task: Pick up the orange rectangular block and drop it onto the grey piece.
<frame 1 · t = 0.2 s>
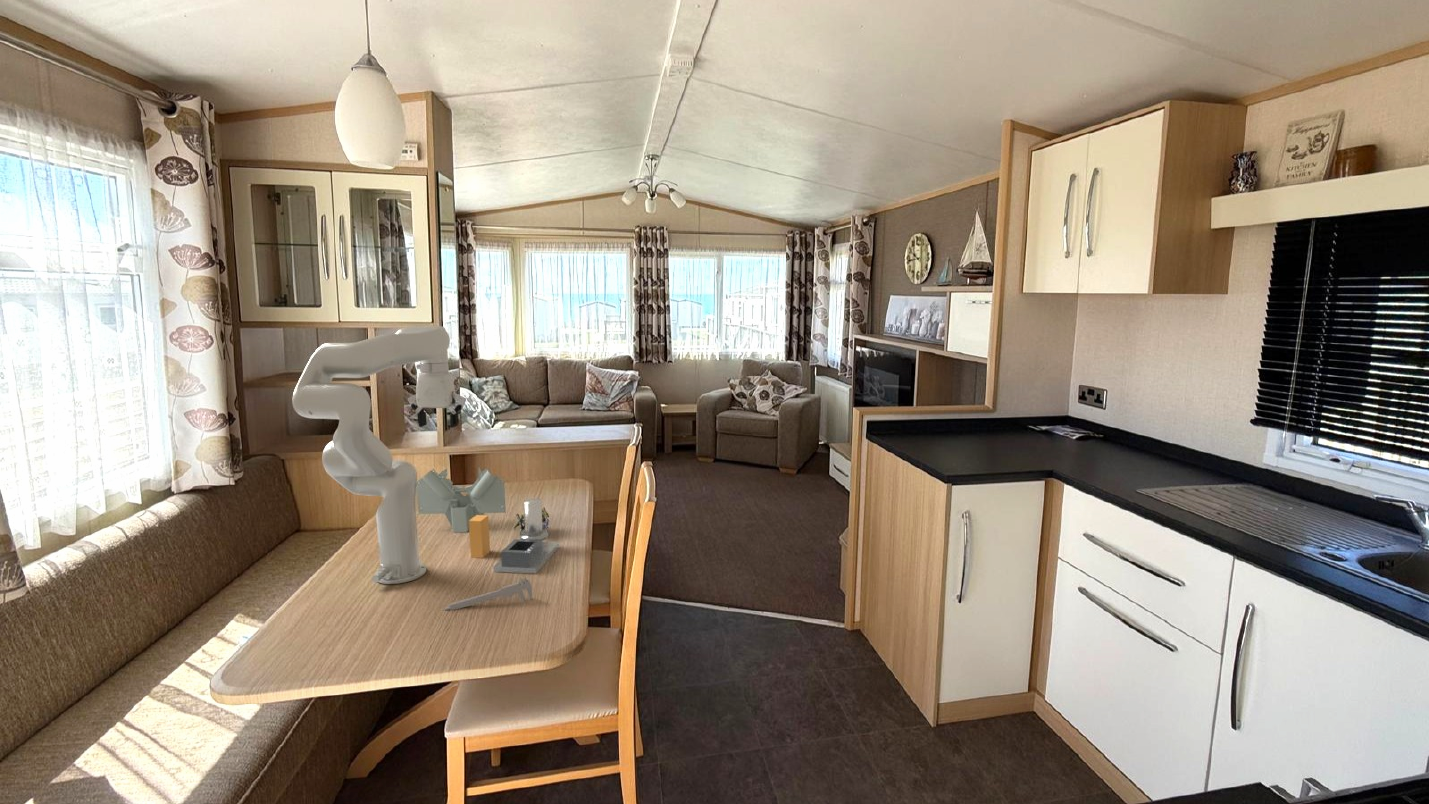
hand: (438, 426, 198), 36 cm above the table, tool pointing down, fingers open, 9 cm apart
passion flower: (532, 535, 211), on the table
bracket: (463, 529, 216), on the table
orange rectangular block: (480, 554, 195), on the table
grey piece: (528, 559, 191), on the table
caliper: (489, 606, 164), on the table
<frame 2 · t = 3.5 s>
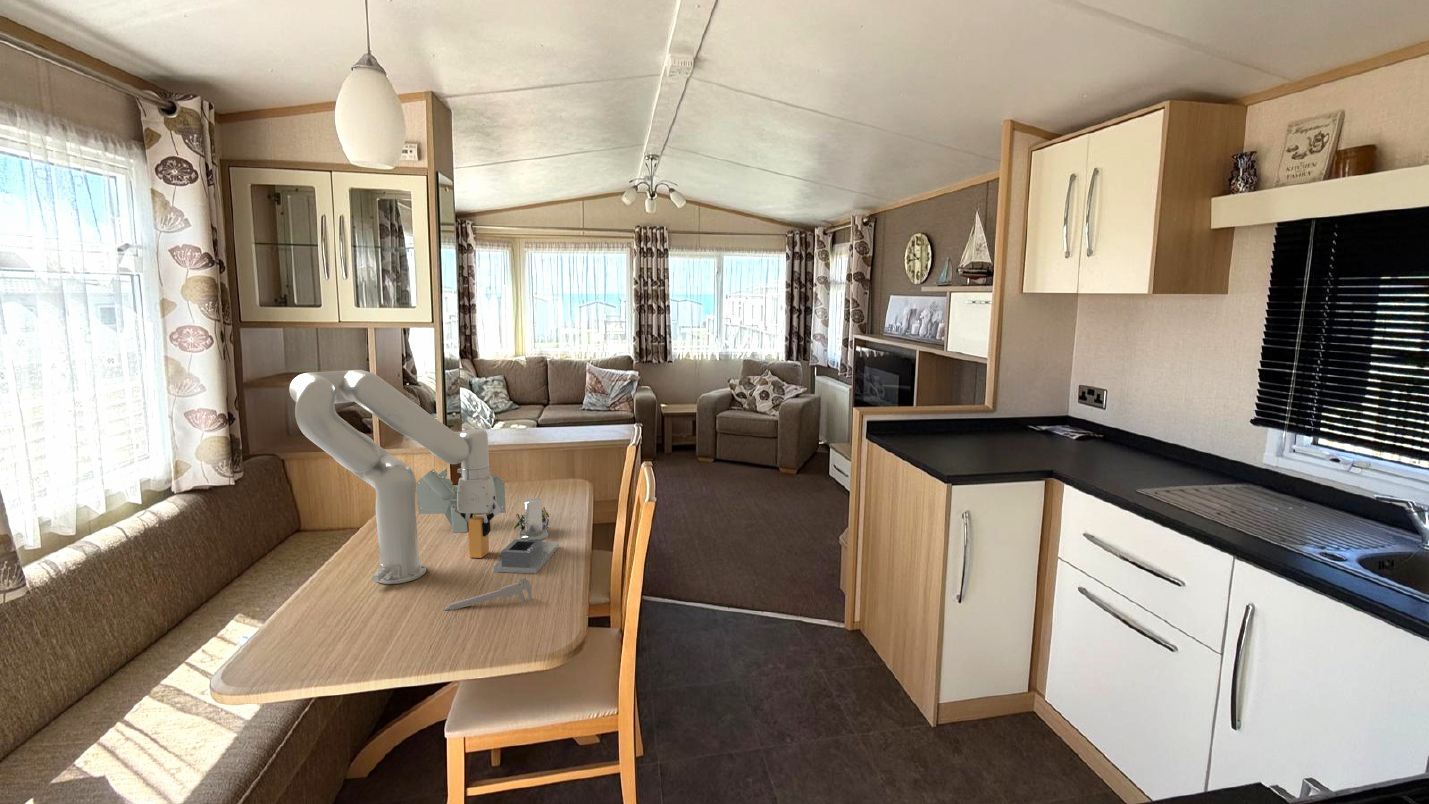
hand: (479, 533, 194), 6 cm above the table, tool pointing down, fingers closed on orange rectangular block, 3 cm apart
orange rectangular block: (479, 554, 194), on the table, touching gripper
everything else where it was.
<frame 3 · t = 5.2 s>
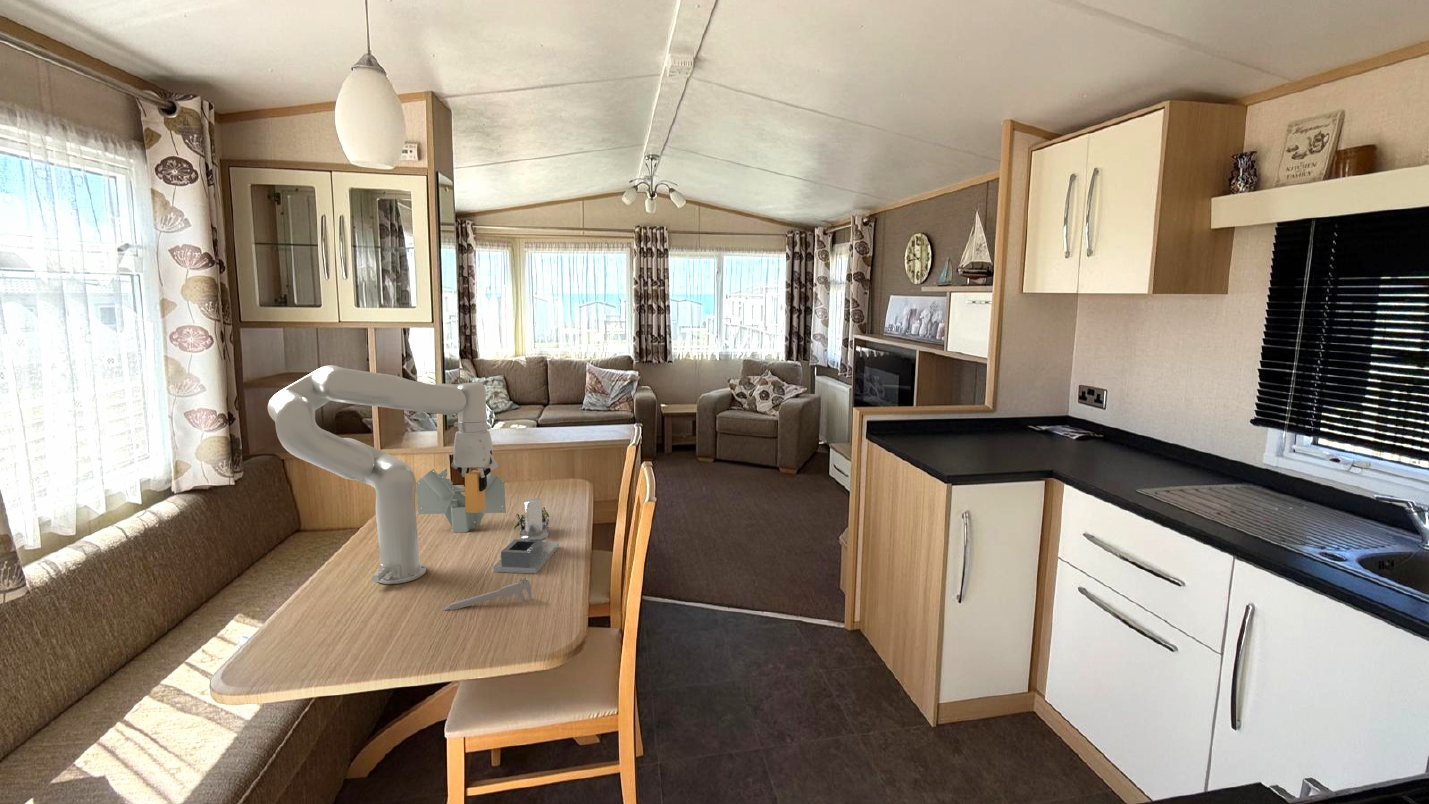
hand: (475, 489, 191), 20 cm above the table, tool pointing down, fingers closed on orange rectangular block, 3 cm apart
orange rectangular block: (475, 510, 192), point 14 cm above the table, touching gripper
everything else where it was.
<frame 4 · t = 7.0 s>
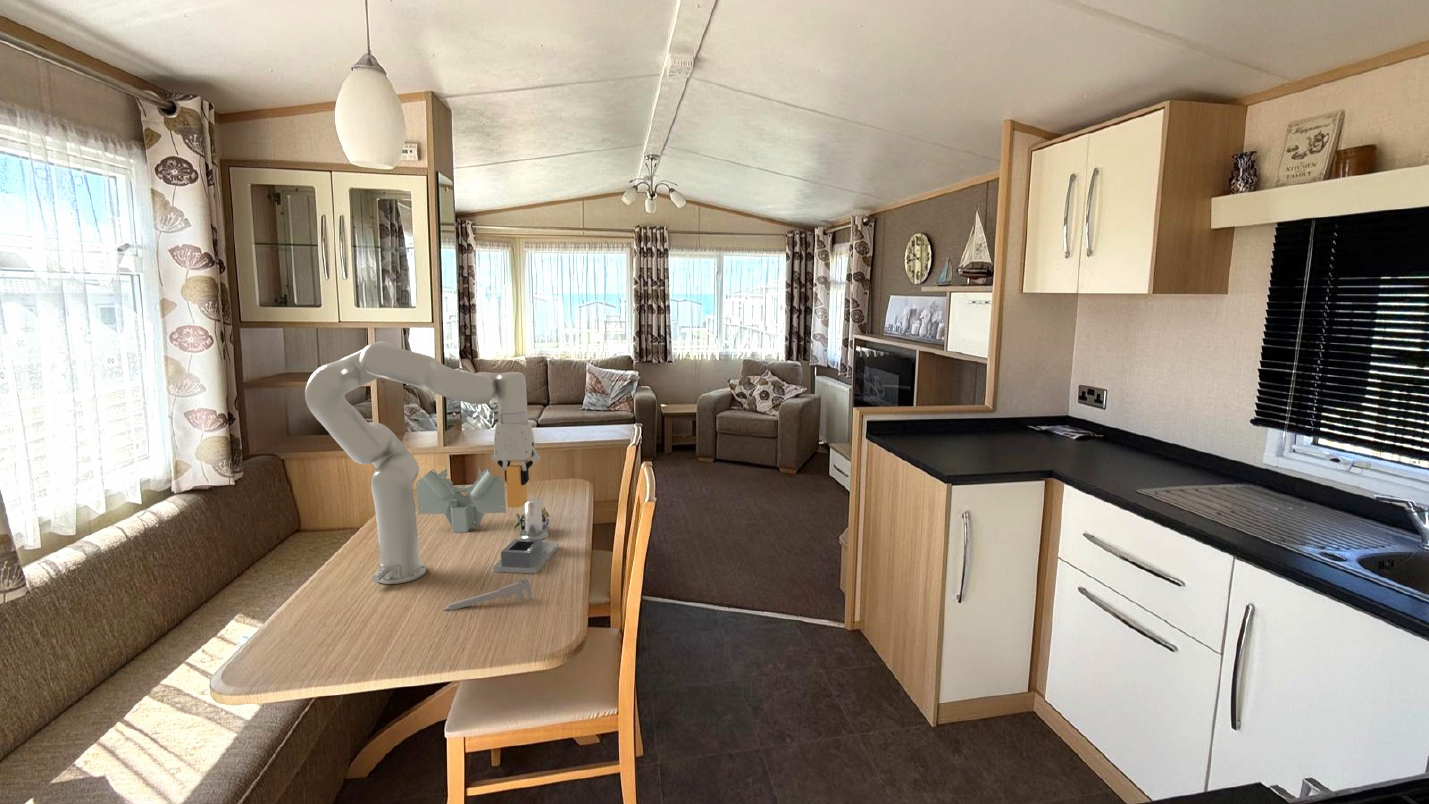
hand: (517, 483, 184), 23 cm above the table, tool pointing down, fingers closed on orange rectangular block, 3 cm apart
orange rectangular block: (517, 504, 184), point 17 cm above the table, touching gripper
everything else where it was.
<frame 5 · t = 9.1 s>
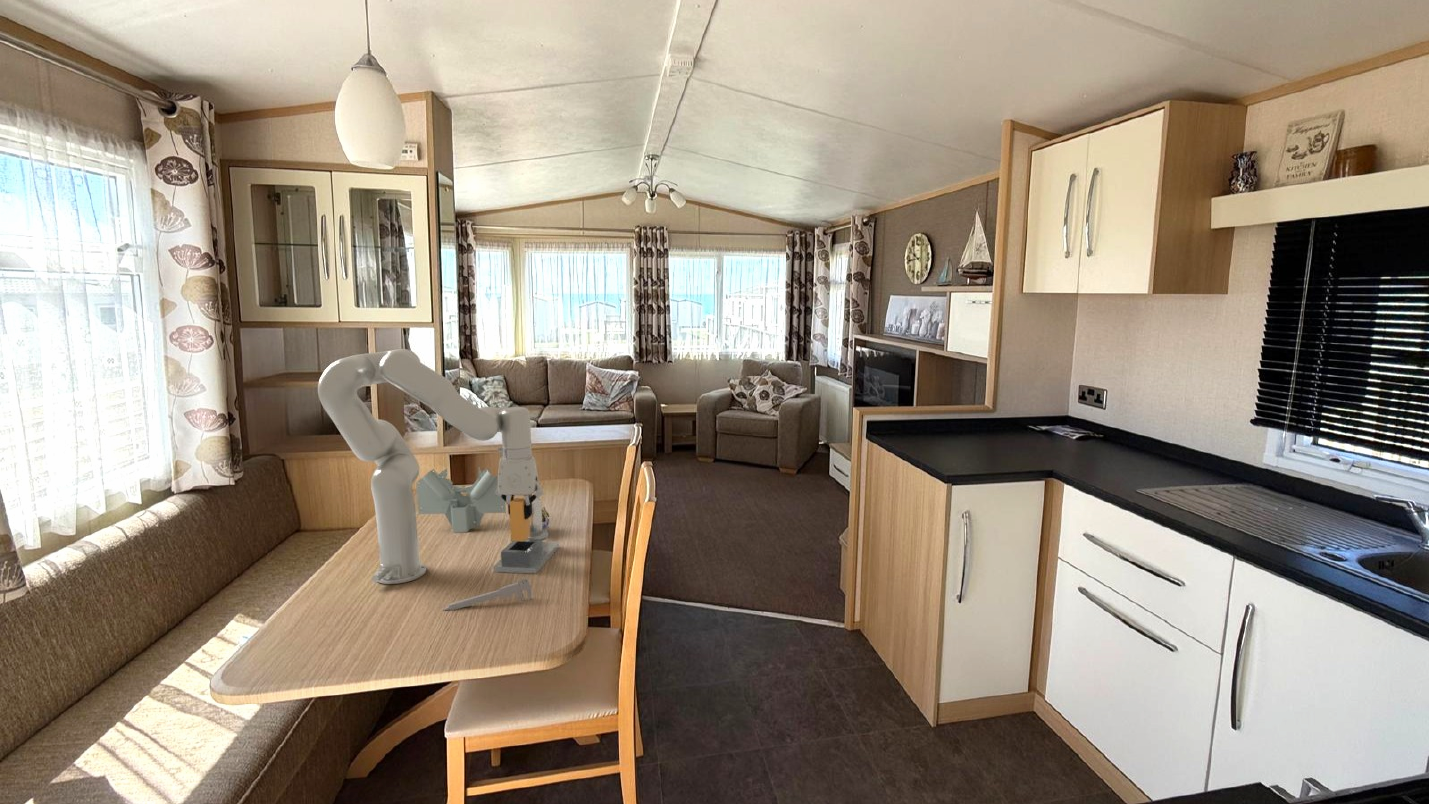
hand: (520, 516, 185), 14 cm above the table, tool pointing down, fingers closed on orange rectangular block, 3 cm apart
orange rectangular block: (520, 538, 186), point 8 cm above the table, touching gripper
everything else where it was.
when the fingers open (9 cm above the table, at t = 10.7 s): orange rectangular block drops 2 cm, resting on grey piece.
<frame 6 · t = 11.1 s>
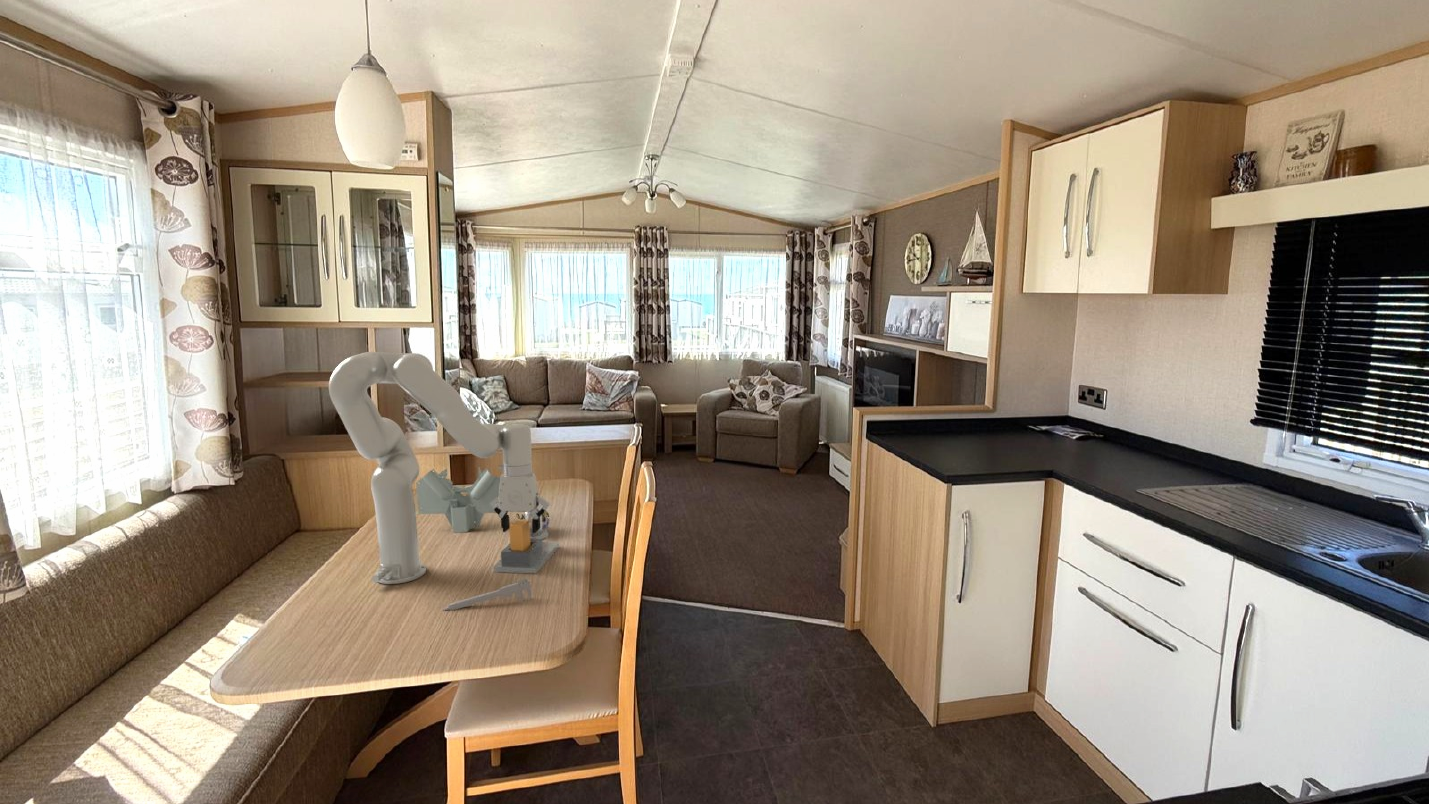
hand: (521, 530, 186), 10 cm above the table, tool pointing down, fingers open, 8 cm apart
orange rectangular block: (521, 560, 187), point 1 cm above the table, touching grey piece
everything else where it was.
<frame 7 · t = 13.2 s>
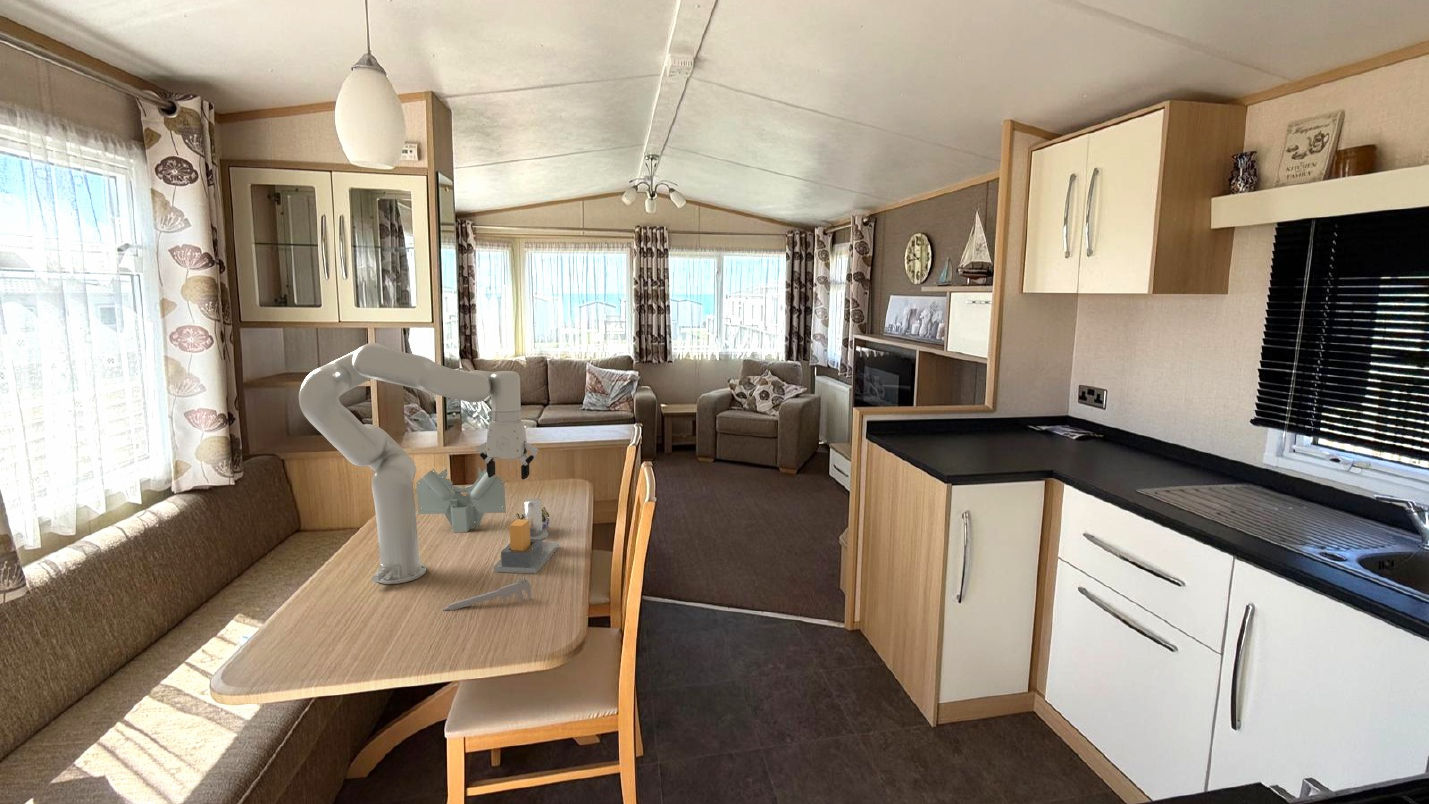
hand: (508, 477, 186), 25 cm above the table, tool pointing down, fingers open, 9 cm apart
nothing on the table moved.
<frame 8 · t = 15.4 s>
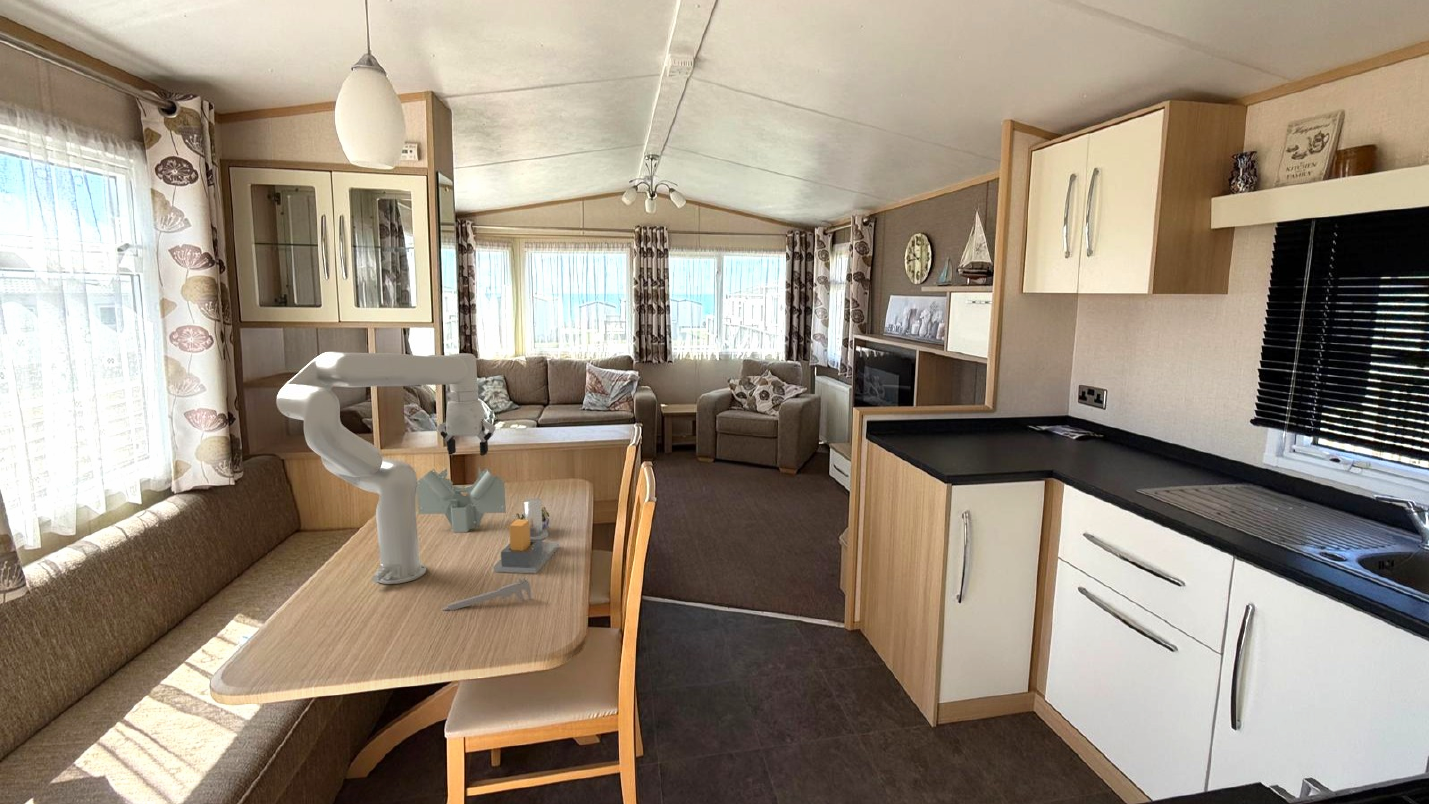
hand: (467, 454, 197), 28 cm above the table, tool pointing down, fingers open, 9 cm apart
nothing on the table moved.
at the end: orange rectangular block 0.6 cm from the target spot on the grey piece, point 1.5 cm above the grey piece's base; orange rectangular block tilted 0°; the gripper is holding nothing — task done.
